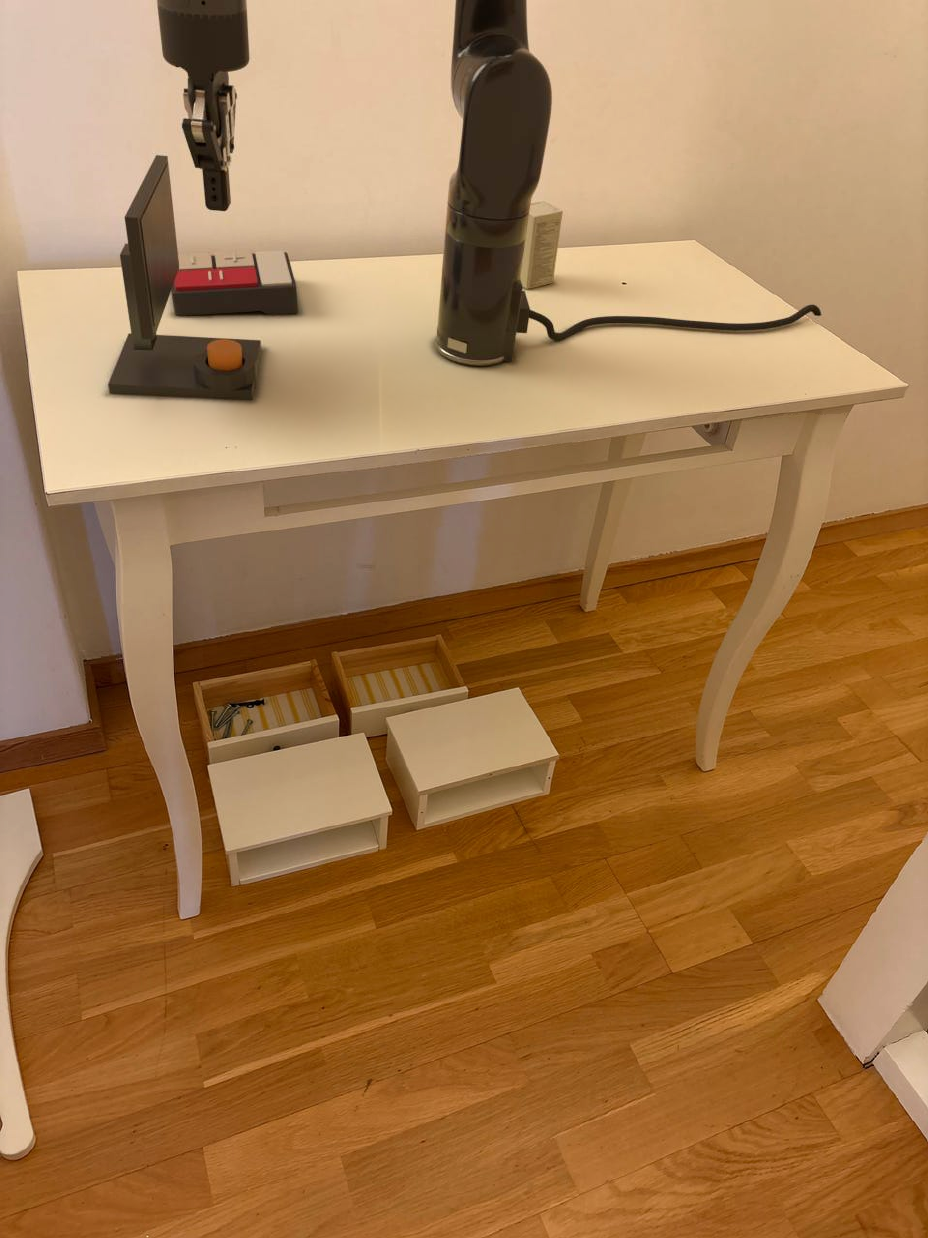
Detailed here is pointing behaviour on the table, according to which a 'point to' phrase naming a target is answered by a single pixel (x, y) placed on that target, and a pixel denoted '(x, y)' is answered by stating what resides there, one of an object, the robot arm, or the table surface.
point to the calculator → (234, 283)
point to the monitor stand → (133, 303)
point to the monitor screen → (152, 245)
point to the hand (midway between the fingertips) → (218, 207)
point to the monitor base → (183, 370)
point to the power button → (224, 354)
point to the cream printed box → (540, 245)
